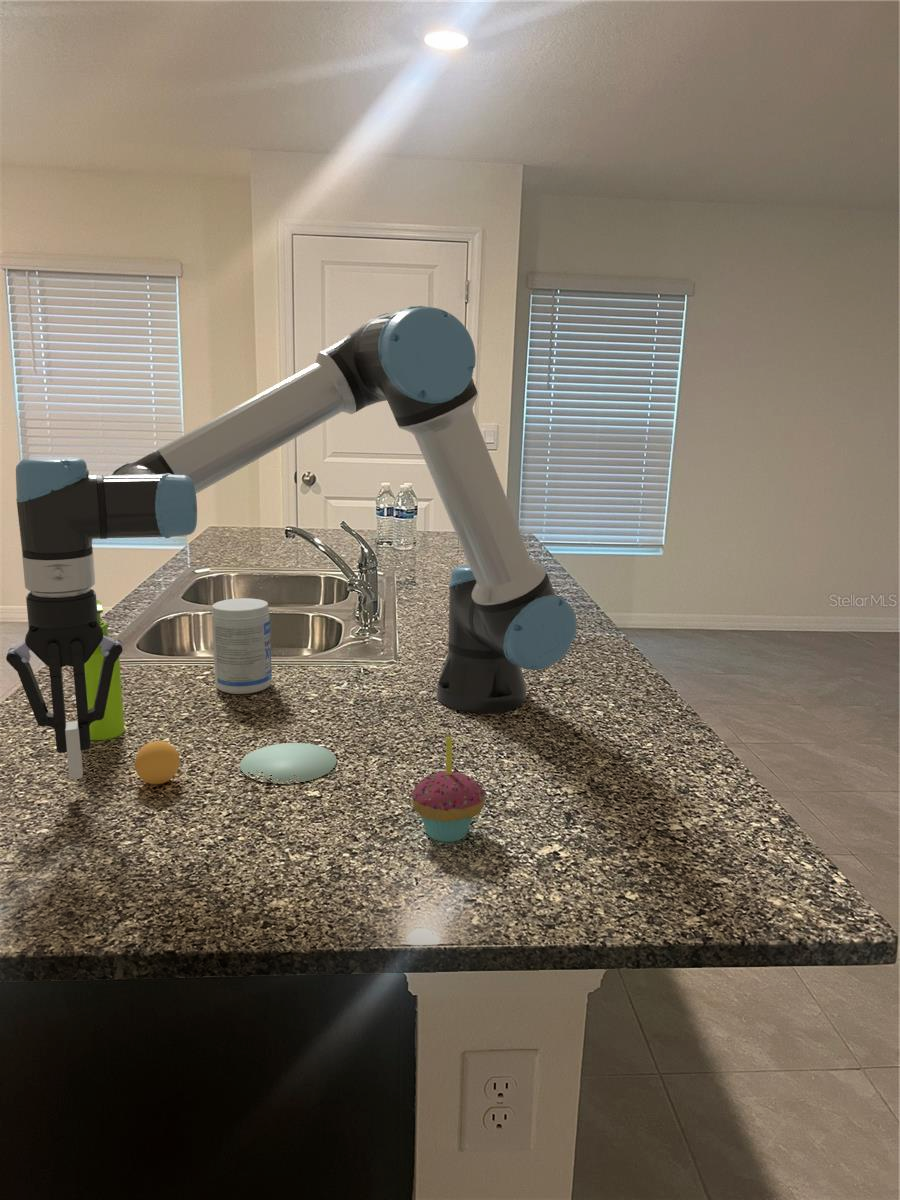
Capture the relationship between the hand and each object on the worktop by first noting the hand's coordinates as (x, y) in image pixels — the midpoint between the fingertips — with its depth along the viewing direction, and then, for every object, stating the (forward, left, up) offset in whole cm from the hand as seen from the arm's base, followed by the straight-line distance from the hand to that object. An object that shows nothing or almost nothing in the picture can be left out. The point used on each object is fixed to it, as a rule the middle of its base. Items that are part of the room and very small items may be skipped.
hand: (76, 774), depth 104 cm
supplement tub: (+5, -42, -3) cm, 42 cm away
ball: (-7, -7, 0) cm, 10 cm away
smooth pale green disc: (-19, -19, -3) cm, 27 cm away
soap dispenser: (+11, -16, -3) cm, 20 cm away
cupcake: (-46, -11, -3) cm, 47 cm away
